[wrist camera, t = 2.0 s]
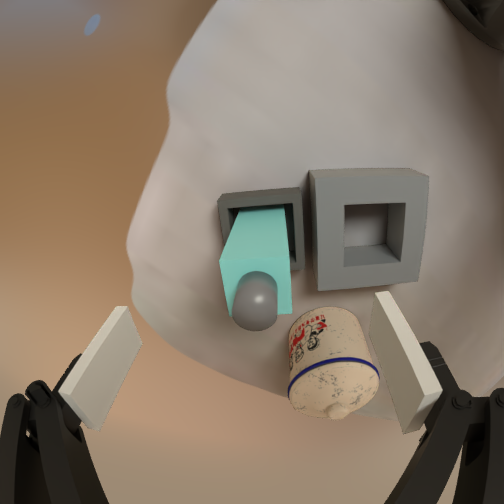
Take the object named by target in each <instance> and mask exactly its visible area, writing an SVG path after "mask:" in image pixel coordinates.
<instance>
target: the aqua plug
mask: <svg viewBox="0 0 504 504" xmlns="http://www.w3.org/2000/svg"><path fill="white" fill-rule="evenodd" d="M219 263H220V269H221V274H222V280H223V285H224V290H225V296H226V301H227V306H228V311H229V316H232V317H233V319H234V321H235V322H236V323H237V324H238V325H239V326H240V327H242V328H244V329H246V330H250V331H262V330H265V329H268V328H269V327H271V326H272V325H273V324H274V323H275V321H276V319H277V315H278V314H292V297H291V277H290V260H289V248H288V239H287V229H286V220H285V211H284V204H280V205H267V206H255V207H244V208H240V210H239V213H238V215H237V218H236V220H235V223H234V225H233V227H232V230H231V232H230V235H229V237H228V240H227V242H226V245H225V247H224V250H223V252H222V255H221V257H220V260H219Z"/></svg>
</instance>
